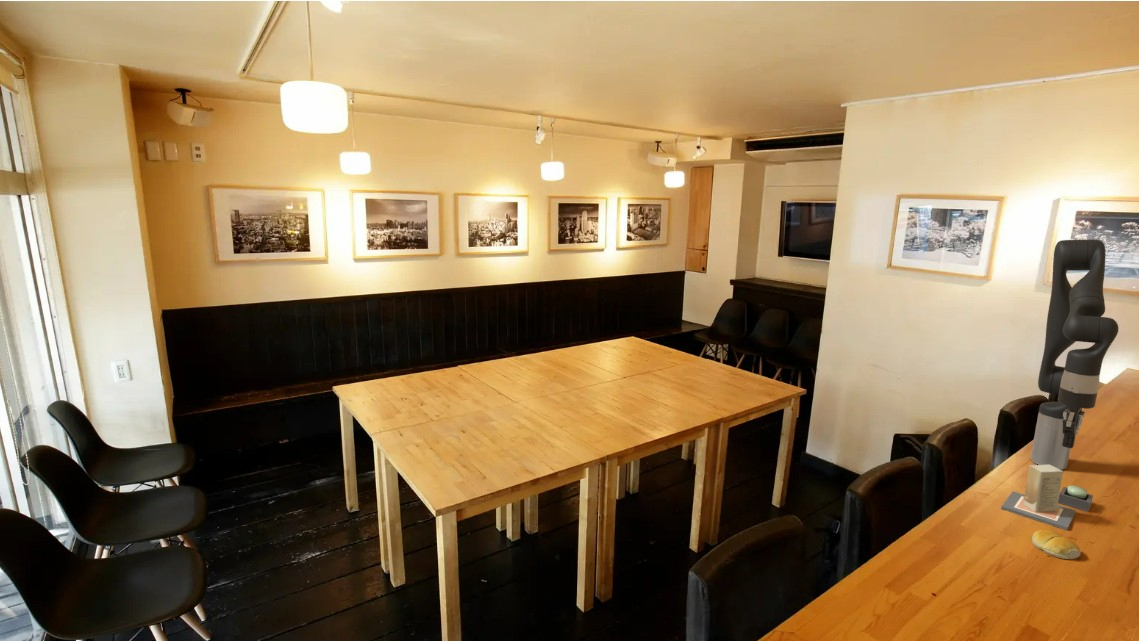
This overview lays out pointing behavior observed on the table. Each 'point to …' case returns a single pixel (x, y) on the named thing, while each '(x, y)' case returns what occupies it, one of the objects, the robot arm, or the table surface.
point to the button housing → (1075, 500)
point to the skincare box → (1042, 488)
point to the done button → (1077, 491)
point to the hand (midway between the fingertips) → (1067, 446)
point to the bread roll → (1055, 544)
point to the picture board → (1053, 518)
